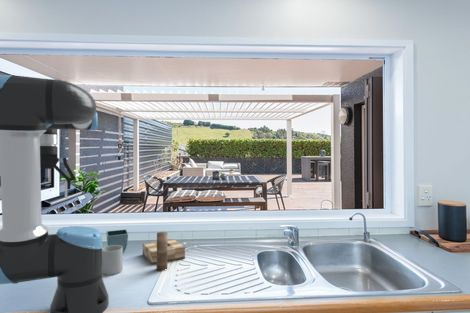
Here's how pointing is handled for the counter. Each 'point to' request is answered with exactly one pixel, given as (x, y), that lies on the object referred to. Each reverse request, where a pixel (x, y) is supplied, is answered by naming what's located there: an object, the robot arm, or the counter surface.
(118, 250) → the cup
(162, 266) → the pin
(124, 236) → the flower pot
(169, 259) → the socket block
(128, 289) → the counter surface
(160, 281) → the counter surface
